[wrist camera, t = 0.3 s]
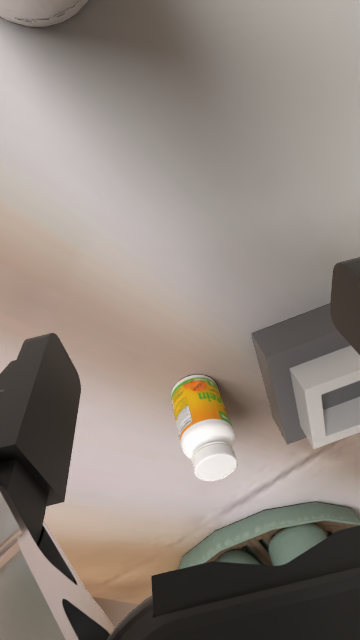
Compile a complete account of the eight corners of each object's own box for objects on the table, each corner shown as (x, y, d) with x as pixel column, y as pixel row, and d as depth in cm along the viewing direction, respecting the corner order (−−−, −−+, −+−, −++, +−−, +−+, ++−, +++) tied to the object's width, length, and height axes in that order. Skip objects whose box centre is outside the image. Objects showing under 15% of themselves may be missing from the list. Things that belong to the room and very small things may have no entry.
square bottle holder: (251, 333, 35) (279, 379, 29) (379, 284, 34) (434, 322, 28) (273, 418, 43) (298, 467, 37) (376, 380, 43) (417, 423, 37)
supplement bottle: (225, 380, 38) (256, 455, 30) (200, 411, 40) (223, 489, 32) (185, 367, 36) (208, 444, 28) (161, 400, 38) (176, 481, 30)
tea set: (136, 559, 59) (144, 696, 45) (347, 470, 55) (425, 591, 41) (215, 609, 81) (237, 710, 68) (369, 548, 77) (425, 643, 64)
